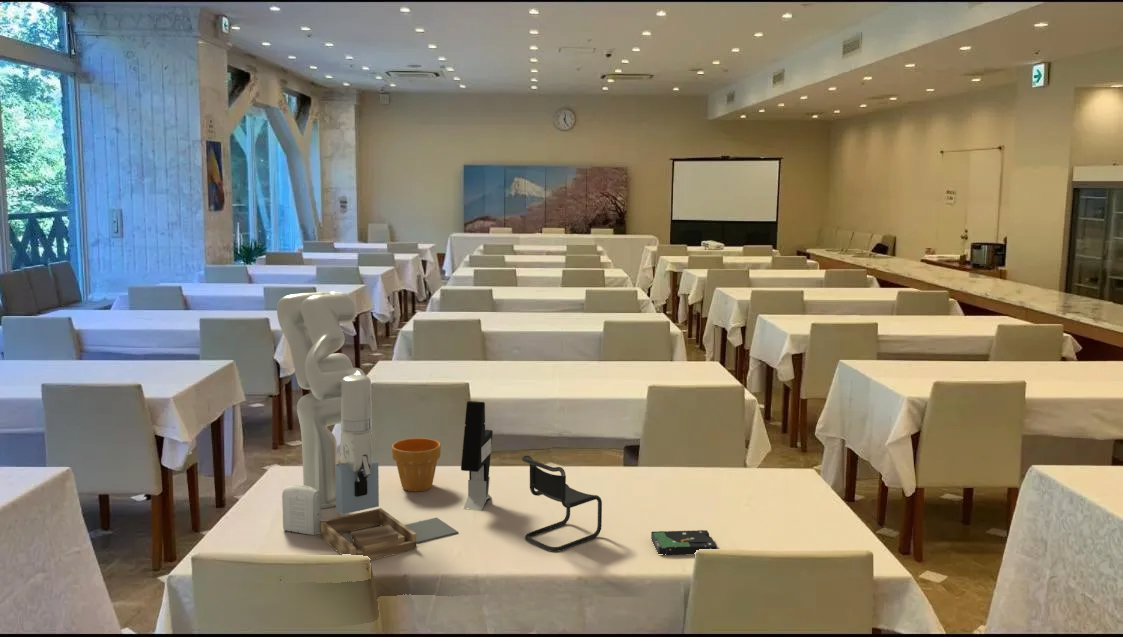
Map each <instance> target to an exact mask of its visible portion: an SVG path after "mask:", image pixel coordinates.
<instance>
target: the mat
mask: <svg viewBox="0 0 1123 637" xmlns="http://www.w3.org/2000/svg"><path fill="white" fill-rule="evenodd" d="M404 525H405V526H406V527H408V528H409V529H411V530H412V531H413V532H415V533H416V540H417V544H420V543H424V542H428V541H433V540H437V539H441V538H444V537H448V536H452V535H457V534H459V531H458V530H456V529H455V528H454V527H452V526H451V525H449V524H448V523H447V522H445V521H443V520H441V519H440V518H439V517H433V518H429V519H425V520H420V521H416V522H412V523H408V524H404Z"/></svg>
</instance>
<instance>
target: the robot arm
mask: <svg viewBox="0 0 1123 637" xmlns="http://www.w3.org/2000/svg"><path fill="white" fill-rule="evenodd" d="M276 306H277V307H276V315H277V316H276V317H277V321H278V323H279V327H280V329H281V331H282V333H283V336H284V337H285V339H286V341H287V344H288V346H289V348H290V355H291V360H292V365H293V368H294V369H293V370H294V374H295V379H296V381H297V385H298V386H299V387H300V388H301V389H303V390H310V391H311V392H310V393H306V394H305V395H302V396H301V397H300V398H299V399H298V401H297V403H296V412H297V418H298V422H299V425H300V426H299V427H300V433H301V451H302V454H301V455H302V477H303V478H302V480H303V485H304V486H309V487H312V488H314V489H316V490H318V491H319V492H320V496H321V509H326V508H327V509H328V508H331V507H336V482H335V465H336V464H338V442H337V441H338V440H337V438H336V436H335V435H334V433H333V432H331V431H330V429H329V428H328V427H329V426H333V425H339V424H340V426H341V428H340V430H341V434H340V448H339V450H340V451H339V452H340V453H339V457H340V458H339V459H340V464H341V463H344V464H345V465H347V466H348V467H349V468H350V470H351V471H353V472H355V474H356V481H355V496H356V497H358V496H363V495H367V480H368V476H369V475H370V470H369V469H370V468H371V465H372V458H373V456H372V455H373V454H372V441H371V440H372V439H371V431H372V430H373V429H372V426H373V424H372V422H373V421H372V381H371V379H370V377H368V376H367V374H366V373H365V372H364V370H362V368H359V367H353V363H352V361H351V359H350V358H349V357H348V356H347V355H346V354H344V353H342V352H341V353H340V352H337V351H339V350H340V349H341V348H342V347H343V346H344V344H345V340H346V337H345V334H344V331H343V329H342V327H341V325H342V324H351V323H352V322H353V321H354V320H355V318H356V314H357V313H356V305H355V303H354V300H353V298H352V297H351V296H350V295H348V294H347V293H344V292H338V291H320V292H319V291H317V292H302V293H293V294H288V295H285V296H283V297H281V298H280V299H279V301H278V302H277V305H276ZM336 352H337V353H336ZM360 467H362V469H360ZM362 471H363V473H361V474H360V476H359V472H362Z"/></svg>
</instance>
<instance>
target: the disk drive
mask: <svg viewBox="0 0 1123 637" xmlns="http://www.w3.org/2000/svg"><path fill="white" fill-rule="evenodd" d="M650 533H651V535H650V539H652V540H651V543H652V542H653V543H652V544H654V545H653V547H654V546H655V547H654V548H656V549H655V551H656V550H657V551H656V553H657V552H658V553H657V555H658V554H663V555H662V556H687V555H686V554H694V553H695V552H696V550H699V549H717V548H718V546H717V544H716V543H715V541H714V539H713V537H712V536H710V533H709V531H708V530H706V529H705V530H704V529H702V530H701V529H698V530H668V531H667V530H666V531H664V530H662V531H660V530H659V531H651V532H650ZM717 550H718V549H717ZM665 554H666V555H665Z"/></svg>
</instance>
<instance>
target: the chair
mask: <svg viewBox="0 0 1123 637" xmlns="http://www.w3.org/2000/svg"><path fill="white" fill-rule="evenodd" d="M521 460H522V461H523V462H524V463H527V464H529V490H530V493H531V494H532V495H534V496H537V497H539V496H542V495H543V496H544V497H546V498H549V499H551V500H553V501H556V502H560V503H561V504H562V506H563V508H565V509H566V512H565V517H564V519H563V520H561V521H558V522H556V523H552V524H549V525H546V526H544V527H540V528H538V529H536V530H535V529H534V530H532V531H530V532H529V531H528V532H527V533H526V534H525V535H524V539H525V541H527V542H528V543H530V544H533V545H534V546H537V547H538V548H539V547H540V548H541V549H543V548H544V549H543V550H545V549H546V551H548V550H551V551H550V552H559V551H558V550H561V551H563V549H564V550H566V549H569V548H571V546H572V547H574V546H576V545H579V544H581V543H584V542H587V541H590V540H593V539H596V538H597V537H598V536H599V534H600V532H601V530H602V526H603V525H602V524H603V523H602V522H603V516H602V513H603V511H602V510H603V501H602V498H601V497H600V496H599V495H596V494H590V493H589V494H588V493H585V492H581V491H578V490H576V489H574V488H572V487H570V486H569V485H568V484H567V483H566V482H567V476H566V475H567V474H566V472H565V471H566V470H565V469H564V468H563V467H560V466H556V467H555V466H550V465H547V464H544V463H541V462H540V461H539V462H538V461H536V460H534V459H533V458H532V457H531V455H523V456H522V457H521ZM542 469H543V470H542ZM544 470H546V471H550V472H552V473H548V472H546V471H544ZM553 472H560V475H559V474H553ZM594 500H596V501H597V524H596V525H597V526H596V530H595V531H594V533H592V534H589V535H587V536H584V537H581V538H578V539H576V540H572V541H569V542H568V543H565V544H563V545H560V546H559V545H558V546H549V545H547V544H544V543H542V542H540V541H538V540H536V539H533V538H531V537H533V536H536V535H539V534H542V533H545V532H547V531H550V530H553V529H555V527H556V528H559V527H562V526H564V525H565V524H567V523H568V521H569V519H570V517H571V508H574V507H577V506H580V505H583V504H586V503H589V502H592V501H594ZM561 525H562V526H561ZM558 526H559V527H558ZM544 531H545V532H544Z"/></svg>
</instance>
